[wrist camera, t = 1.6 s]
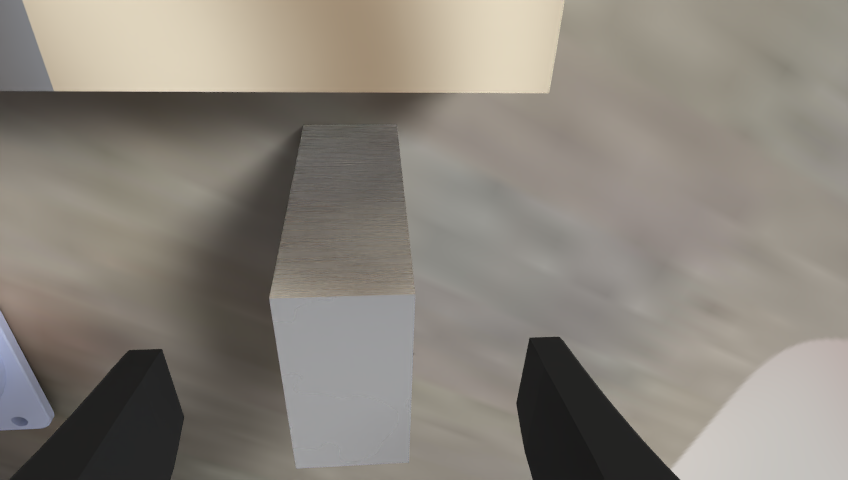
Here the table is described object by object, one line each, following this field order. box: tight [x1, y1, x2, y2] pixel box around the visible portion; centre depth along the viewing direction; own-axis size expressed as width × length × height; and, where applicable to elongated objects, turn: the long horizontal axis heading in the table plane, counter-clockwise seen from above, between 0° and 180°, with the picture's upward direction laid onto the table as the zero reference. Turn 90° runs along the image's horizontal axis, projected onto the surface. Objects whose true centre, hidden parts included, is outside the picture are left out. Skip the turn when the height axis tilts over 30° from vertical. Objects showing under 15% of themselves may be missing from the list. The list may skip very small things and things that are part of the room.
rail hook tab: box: [269, 124, 415, 468], centre depth 14 cm, size 2×5×7 cm, turn 178°
